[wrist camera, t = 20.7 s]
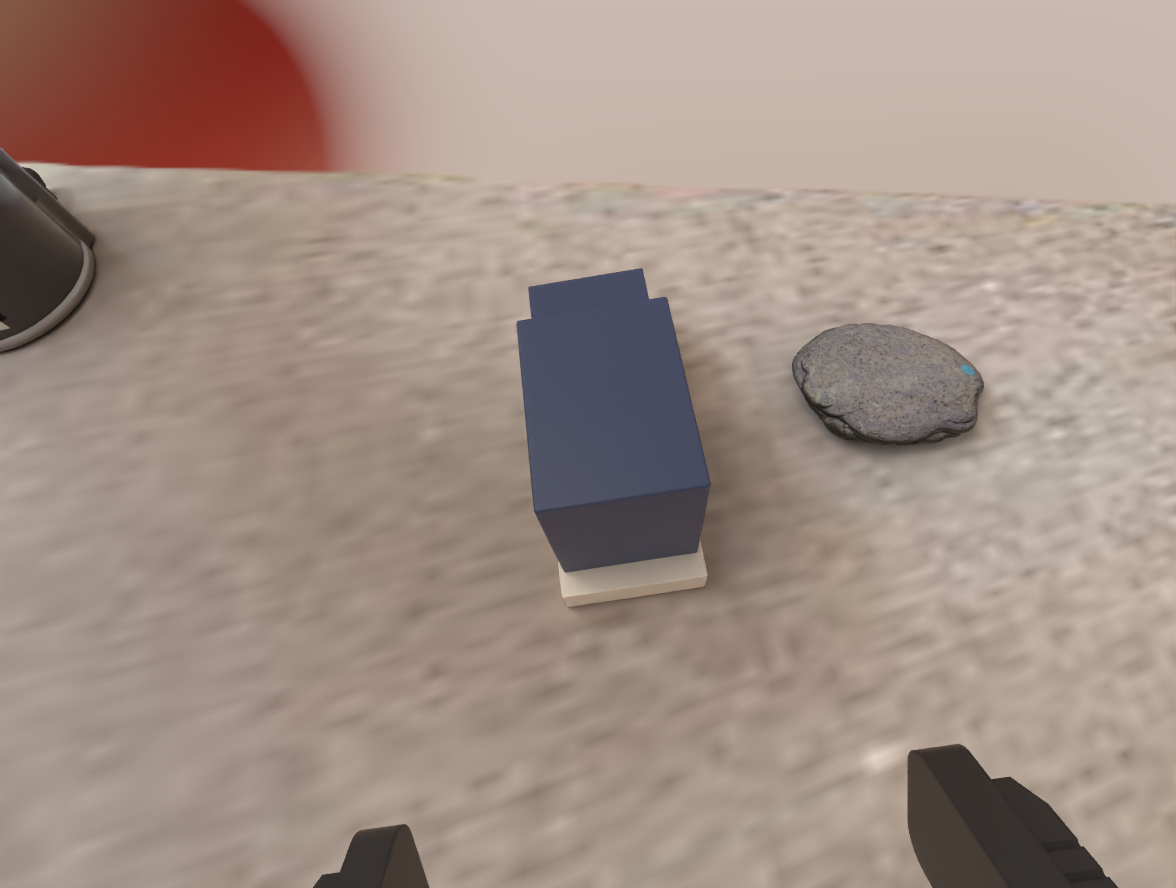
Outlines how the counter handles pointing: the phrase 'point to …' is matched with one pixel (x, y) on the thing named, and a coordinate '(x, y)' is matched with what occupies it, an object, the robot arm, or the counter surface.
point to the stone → (887, 385)
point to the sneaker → (612, 439)
